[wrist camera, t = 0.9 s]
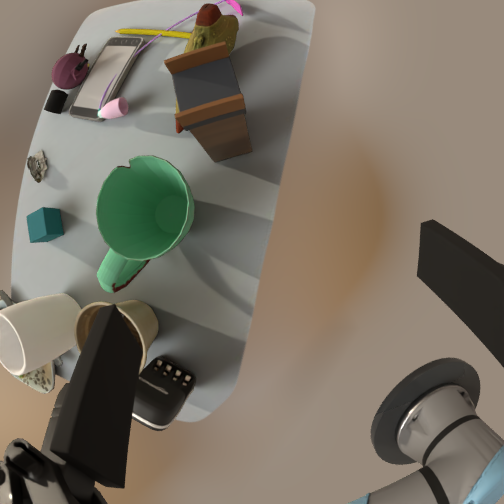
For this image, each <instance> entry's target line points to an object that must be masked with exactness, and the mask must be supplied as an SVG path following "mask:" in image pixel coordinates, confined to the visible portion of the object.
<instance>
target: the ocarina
mask: <svg viewBox="0 0 504 504" xmlns="http://www.w3.org/2000/svg"><path fill="white" fill-rule="evenodd" d="M238 30H239V23H238V19H237V18H236V16H234V15H222V14H221V12H220V10H219V8H218V6H217V5H215V4H204V5H203V6H202V7H201V9H200V10H199V12H198V14H197V19H196V23H195V27H194V29H193V32H192V34H191V36H190V38H189V41H188V43H187V45H186V48H185V51H184V53H187V52H190V51H193V50H196V49H200V48H203V47H206V46H210V45H213V44H217V43H221V42H224V41H225V42H226V45H227V50H228V54H230V53H231V51H232V50H233V48H234V45H235V41H236V35H237V31H238ZM176 113H179V108H178V103H177V98H176ZM183 130H184V128H183V127H182V126H181V125H180V123H179V122H178V121H177V120H176V131H177V133H180V132H181V131H183Z"/></svg>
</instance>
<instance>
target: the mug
mask: <svg viewBox="0 0 504 504" xmlns="http://www.w3.org/2000/svg"><path fill="white" fill-rule="evenodd" d="M129 163H130V167H125V166H117V167H116V168H115V169H113V170H112V172H111V173H110V174H109V176H108V177H107V178H106V180H105V181H104V183H103V185H102V187H101V190H100V193H99V195H98V199H97V208H96V216H97V223H98V229H99V231H100V233H101V235H102V237H103V239H104V241H105V243H106V244H107V245H108V246H109V247H110V250H109V251H108V253H107V255H106V257H105V258H104V260H103V262H102V264H101V266H100V268H99V270H98V273H97V277H98V279H99V282H100V285H101V287H102V288H103V289H104V290H105V291H107V292H109V293H115V292H117V291H119V290H121V289H122V288H124V287H126V286H127V285H128V284H129V283H130V282H131V281H132V280H133V279H134V278H135V276H136V275H137V274H138V273H139V272H140V271H141V270H142V269H143V268H144V267H145V266H146V265H147V264H148V262H149V261H150V259H154V258H158V257H161V256H162V255H164V254H165V253H167V252H168V251H170V250H172V249H173V248H174V247H175V246H177V245H178V244H179V243H180V242H181V240H182V239H183V238H184V237H185V236H186V234H187V233H188V232H189V230H190V227H191V225H192V223H193V220H194V211H195V206H194V201H193V196H192V194H191V191H190V188H189V186H188V184H187V182H186V180H185V179H184V177H183V175H182V173H181V172H180V171H179V170H178V169H176V168H175V167H174V166H173V165H172V164H171V163H169V162H168V161H167V160H164V159H161V158H158V157H156V156H137V157H134V158H132V159H129Z"/></svg>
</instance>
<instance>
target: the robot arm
mask: <svg viewBox="0 0 504 504" xmlns="http://www.w3.org/2000/svg"><path fill="white" fill-rule="evenodd" d="M417 277H419V278H420V279H421V280H422V281H423V282H424V283H425V284H426V285H427V286H428V287H429V288H430V289H431V290H432V291H433V292H434V293H435V294H436V295H437V296H438V297H439V298H441V300H442V301H443V302H444V303H445V304H447V306H448V307H449V308H450V309H451V310H452V311H453V312H454V313H455V314H456V315H457V316H458V317H459V318H460V319H461V320H462V321H463V322H464V323H465V324H466V325H467V326H468V327H469V329H471V331H472V332H473V333H474V334H475V335H476V336H477V337H478V338H479V339H480V341H481V342H482V343H483V344H484V345H485V346H486V347H487V348H488V349H489V351H490V352H491V353H492V354H493V355H494V357H495V358H496V359H497V360H498V361H499V362H500V363H501V365H502V366H503V367H504V265H503V264H500V263H498V262H496V261H495V260H493V259H492V258H491V257H489V256H488V255H487V254H485V253H484V252H482V251H481V250H480V249H478V248H476V247H475V246H474V245H472V244H471V243H469V242H468V241H466V240H465V239H463V238H462V237H460V236H459V235H457V234H456V233H454V232H453V231H451V230H449V229H448V228H446V227H445V226H443V225H441V224H440V223H438V222H437V221H435V220H429V221H426V222H423V223H421V231H420V247H419V260H418V271H417ZM142 355H143V350H142V349H141V347H140V345H139V344H138V342H137V341H136V339H135V337H134V336H133V334H132V332H131V331H130V329H129V327H128V326H127V324H126V322H125V320H124V319H123V317H122V315H121V313H120V312H119V310H118V308H117V306H116V304H112V305H108V306H104V307H100V309H99V311H98V313H97V316H96V318H95V320H94V322H93V325H92V327H91V329H90V332H89V334H88V336H87V339H86V341H85V344H84V346H83V349H82V351H81V354H80V356H79V359H78V361H77V364H76V367H75V369H74V372H73V375H72V377H71V380H70V383H66V384H65V385H64V387H63V388H62V390H61V391H60V392H59V394H58V397H57V399H56V402H55V405H54V406H55V408H53V412H52V414H51V416H52V418H50V421H49V424H48V427H47V431H46V434H45V438H44V441H43V445H42V449H41V452H40V451H38V450H37V449H36V448H35V447H33V446H32V445H31V444H29V443H28V442H27V441H26V440H24V439H19V438H17V439H15V440H13V441H12V442H11V443H10V444H9V445H8V447H7V449H6V451H5V455H4V462H3V461H0V504H107V502H106V501H105V499H104V498H103V496H102V495H101V493H100V492H99V491H98V490H97V488H95V487H94V485H95V481H97V482H98V483H100V484H102V485H104V486H106V487H114V488H124V487H125V474H126V463H127V452H128V444H129V436H130V428H131V420H132V413H133V406H134V400H135V394H136V388H137V382H138V376H139V371H140V365H141V360H142ZM473 406H474V404H473V403H472V401H471V399H470V397H469V394H468V392H467V391H466V390H465V389H464V388H462V387H461V386H460V385H458V384H456V383H451V382H449V383H443V384H439V385H437V386H434V387H432V388H430V389H429V390H427V391H425V392H424V393H423V394H421V395H420V396H419V397H418V398H416V399H415V400H414V401H413V402H412V403H411V404H410V405H409V407H408V408H407V409H406V410H405V412H404V413H403V414H402V416H401V418H400V419H399V421H398V424H397V426H396V430H395V441H396V443H397V445H398V447H399V449H400V450H401V451H402V452H403V453H404V454H406V455H407V456H409V457H410V458H412V459H414V460H415V461H417V462H418V463H420V464H422V465H423V468H421V469H419V470H417V471H416V472H414V473H412V474H410V475H408V476H406V477H404V478H402V479H400V480H398V481H396V482H394V483H392V484H390V485H388V486H386V487H384V488H381V489H379V490H377V491H375V492H372V493H368V494H366V496H364V497H361V498H359V499H357V500H355V501H352V502H350V503H348V504H495V503H496V502H497V501H498V500H499V499H500V498H501V497H502V495H503V494H504V440H503V439H502V438H501V437H500V436H499V435H498V434H496V433H495V432H494V431H493V430H492V429H491V428H490V427H489V426H488V425H487V424H486V423H484V422H483V421H482V420H481V419H480V418H479V417H478V416H477V414H476V412H475V409H474V408H475V407H473Z"/></svg>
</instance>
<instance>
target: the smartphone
mask: <svg viewBox="0 0 504 504" xmlns="http://www.w3.org/2000/svg"><path fill="white" fill-rule="evenodd" d="M144 45H145V41H144V40H143V38H142V37H111V38H110V39H108V41H107V42H106V44H105V45H104V47H103V48H102V50H101V52H100V53H99V55H98V57H97V58H96V60H95V62H94V63H93V65H92V67H91V69H90V70H89V72H88V74H87V76H86V78H85V79H84V81H83V83H82V85H81V87H80V89H79V91H78V93H77V95H76V97H75V99H74V101H73V103H72V105H71V107H70V109H69V115H71V116H73V117H76V118H81V119H87V120H92V121H98V122H101V121H103V120H104V119H105V118H100V117H99V116H97V115H98V109H99V105H100V102H101V99H102V96H103V94H104V92H105V90H106V88H107V87H108V85H109V83H110V82H111V80H112V79H113V77H114V76H115V75H116V74H117V75H116V76H115V78H114V79H113V81H112V83H111V85H110V86H109V88H108V90H107V92H106V94H105V97H104V99H103V102H102V105H101V109H102V108H103V107H104V106H105V105H106V104H107V103H109V102H110V101H112V100H114V99H115V97H116V95H117V93H118V91H119V89H120V87H121V85H122V83H123V81H124V79H125V77H126V76H127V74H128V72H129V70H130V68H131V67H132V65H133V63H134V62H135V60H136V58H137V56H138V55H139V53H140V52H141V51H140V52H139V53H138V54H137V55H136V56H135V57H134V55H135V53H136V52H138V51H139V50H140V49H141V48H142V47H143V46H144Z"/></svg>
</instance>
